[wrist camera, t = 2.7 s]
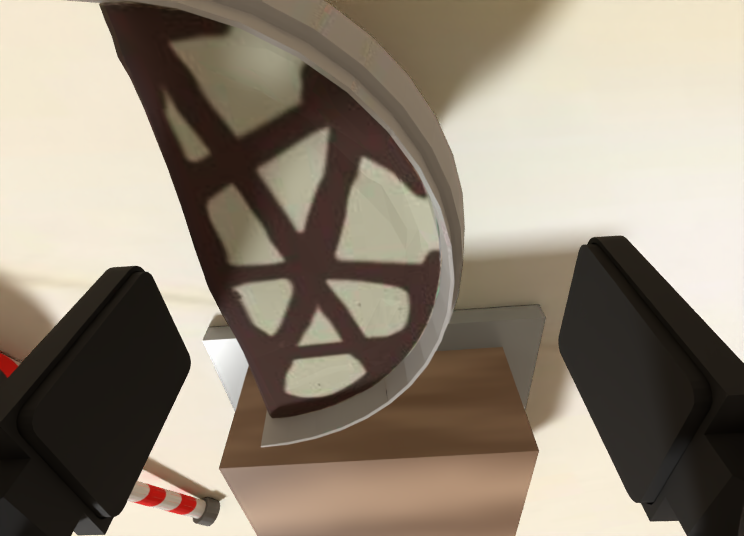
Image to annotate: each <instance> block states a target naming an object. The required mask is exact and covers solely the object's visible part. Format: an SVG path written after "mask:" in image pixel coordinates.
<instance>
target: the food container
mask: <svg viewBox="0 0 744 536" xmlns="http://www.w3.org/2000/svg"><path fill="white" fill-rule="evenodd" d="M69 1H82V2H95V3H100V4H99V5H100V8H101V10H102V13H103V16H104V19H105V21H106V24H107V26H108V28H109V31H110V33H111V35H112V38H113V42H114V45H115V49H116V52H117V56H118V58H119V60H120V61H121V63H122V65H123V67H124V68H125V70H126V72H127V73H128V75H129V77H130V79H131V81H132V83H133V85H134V87H135V90H136V92H137V94H138V96H139V98H140V100H141V103H142V105H143V107H144V109H145V112H146V115H147V117H148V120H149V122H150V125H151V127H152V130H153V132H154V135H155V137H156V140H157V142H158V145H159V147H160V150H161V152H162V155H163V157H164V160H165V162H166V165H167V168H168V170H169V173H170V176H171V179H172V182H173V184H174V187H175V190H176V193H177V196H178V198H179V201H180V204H181V207H182V210H183V213H184V216H185V219H186V222H187V226H188V229H189V232H190V235H191V238H192V241H193V245H194V248H195V251H196V254H197V256H198V259H199V262H200V265H201V268H202V270H203V273H204V276H205V280H206V282H207V285H208V287H209V290H210V292H211V294H212V295H213V297H214V299H215V301H216V303H217V305H218V307H219V309H220V311H221V313H222V315H223V317H224V318H225V320H226V322H227V323H228V325H229V327H230V329H231V330H232V332H233V334H234V336H235V337H236V339H237V341H238V343H239V345H240V347H241V349H242V351H243V353H244V355H245V358H246V360H247V362H248V365H249V367H250V370H251V372H252V374H253V377H254V379H255V382H256V384H257V386H258V389H259V391H260V394H261V396H262V399H263V401H264V404H265V406H266V408H267V413H266V418H265V424H264V430H263V436H262V441H261V447H270V446H280V445H289V444H293V443H298V442H303V441H307V440H312V439H316V438H319V437H323V436H326V435H329V434H332V433H335V432H338V431H341V430H343V429H346V428H348V427H350V426H352V425H354V424H356V423H358V422H361V421H363V420H365V419H367V418H369V417H370V416H372V415H373V414H375V413H377V412H378V411H380V410H381V409H383V408H384V407H386V406H388V405H389V404H391V403H392V402H393V401H394V400H395V399H396V398H397V397H399V396H400V395H401V394H402V393H403V392H404V391H406V390H407V389H408V388H409V387H410V386H411V385H412V384H413V383H414V381H415V380H416V379H417V378H418V377H419V375H420V374H421V373H422V372H423V371H424V369H425V368H426V367H427V366H428V364H429V362H430V361H431V359H432V357H433V355H434V353H435V352H436V350H437V348H438V346H439V345H440V343H441V341H442V338H443V335H444V332H445V329H446V328H447V326H448V324H449V322H450V319H451V316H452V313H453V310H454V307H455V304H456V301H457V298H458V295H459V288H460V280H461V273H462V266H463V250H464V230H465V225H464V210H463V194H462V189H461V185H460V181H459V177H458V173H457V169H456V165H455V161H454V157H453V154H452V151H451V149H450V147H449V145H448V142H447V140H446V138H445V136H444V133H443V131H442V129H441V127H440V124H439V122H438V120H437V118H436V116H435V114H434V112H433V111H432V109H431V108H430V106H429V105H428V103H427V102H426V100H425V99H424V97H423V96H422V94H421V93H420V92H419V90H418V89H417V87H416V86H415V84H414V83H413V81H412V80H411V78H410V77H409V75H408V74H407V73H406V72H405V71H404V70H403V69H402V68H401V67H400V66H399V64H398V63H397V62H396V61H395V60H394V59H393V58H392V57H391V56H390V55H389V54H388V53H387V52H386V51H385V50H384V49H383V47H382V46H381V45H380V44H379V43H378V42H377V41H376V40H375V39H374V38H373V37H372V36H371V35H369V34H368V33H367V32H366V31H364V30H363V29H362V28H360V27H359V26H358V25H356V24H355V23H354V22H353V21H351V20H350V19H349V18H347V17H346V16H345V15H343V14H342V13H341V12H340V11H338V10H337V9H336V8H334V7H333V6H332V5H330V4H329V3H328V2H326V1H324V0H69Z"/></svg>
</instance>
